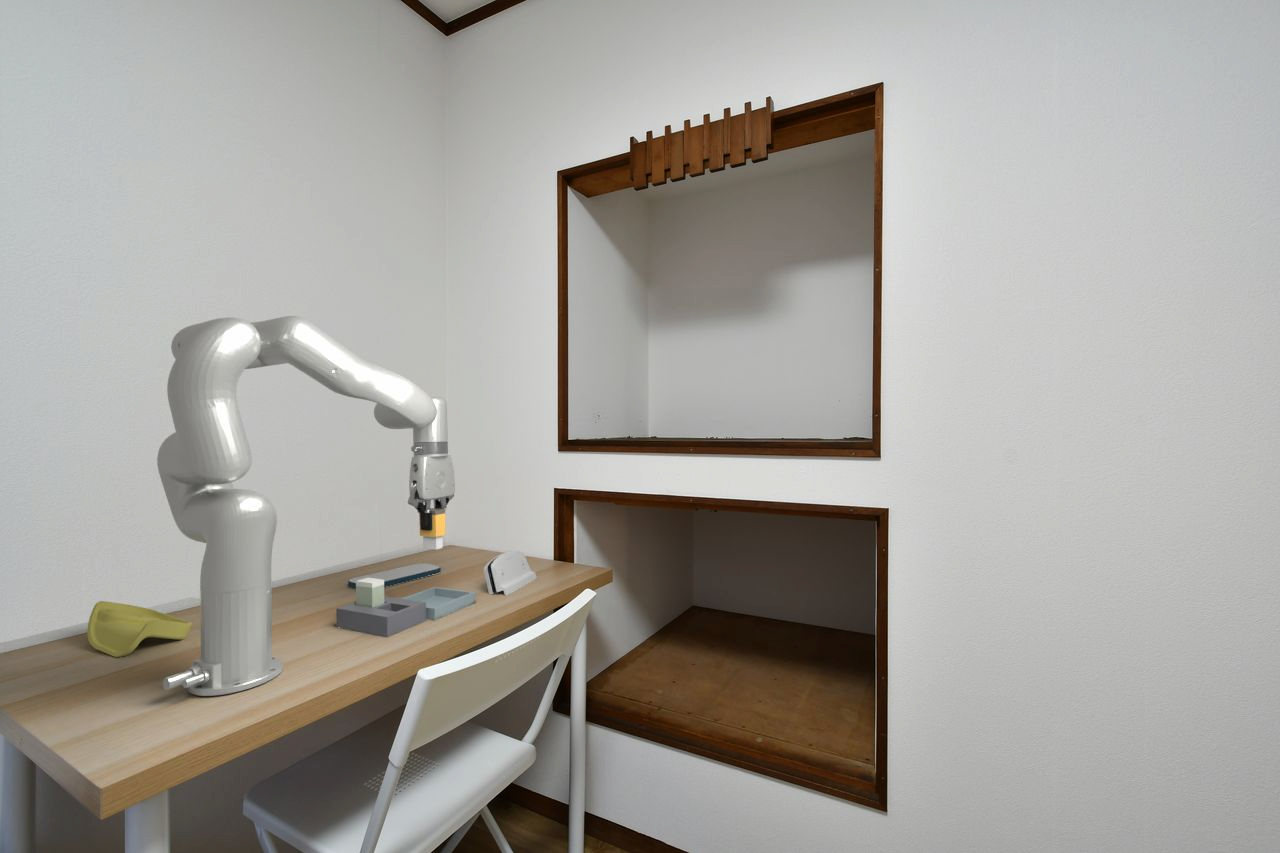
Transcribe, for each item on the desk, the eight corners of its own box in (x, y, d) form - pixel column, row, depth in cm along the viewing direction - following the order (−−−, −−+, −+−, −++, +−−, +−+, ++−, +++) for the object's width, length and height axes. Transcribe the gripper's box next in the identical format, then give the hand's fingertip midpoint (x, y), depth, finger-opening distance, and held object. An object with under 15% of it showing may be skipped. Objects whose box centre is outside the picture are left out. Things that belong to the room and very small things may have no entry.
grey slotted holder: (506, 595, 134) (493, 557, 135) (490, 601, 135) (478, 562, 136) (537, 578, 150) (526, 544, 151) (523, 583, 151) (512, 549, 152)
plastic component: (198, 625, 110) (144, 618, 101) (178, 663, 107) (121, 659, 98) (144, 606, 117) (90, 599, 109) (124, 642, 114) (67, 637, 106)
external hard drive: (365, 594, 139) (365, 586, 139) (343, 587, 145) (343, 579, 145) (445, 573, 158) (445, 567, 158) (422, 568, 164) (422, 562, 165)
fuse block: (387, 637, 107) (387, 592, 107) (336, 627, 113) (336, 584, 113) (426, 620, 116) (425, 579, 116) (377, 612, 122) (376, 573, 123)
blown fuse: (436, 550, 122) (435, 510, 123) (420, 548, 125) (419, 510, 125) (446, 547, 125) (445, 508, 125) (430, 545, 127) (429, 508, 127)
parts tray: (434, 620, 117) (434, 608, 117) (391, 613, 122) (391, 601, 122) (475, 602, 128) (475, 592, 128) (434, 596, 134) (434, 586, 134)
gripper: (414, 451, 116) (416, 536, 116) (468, 448, 131) (469, 523, 131) (390, 451, 119) (391, 534, 119) (444, 448, 134) (446, 521, 134)
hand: (432, 527), depth 125 cm, fingers closed on blown fuse, 3 cm apart
